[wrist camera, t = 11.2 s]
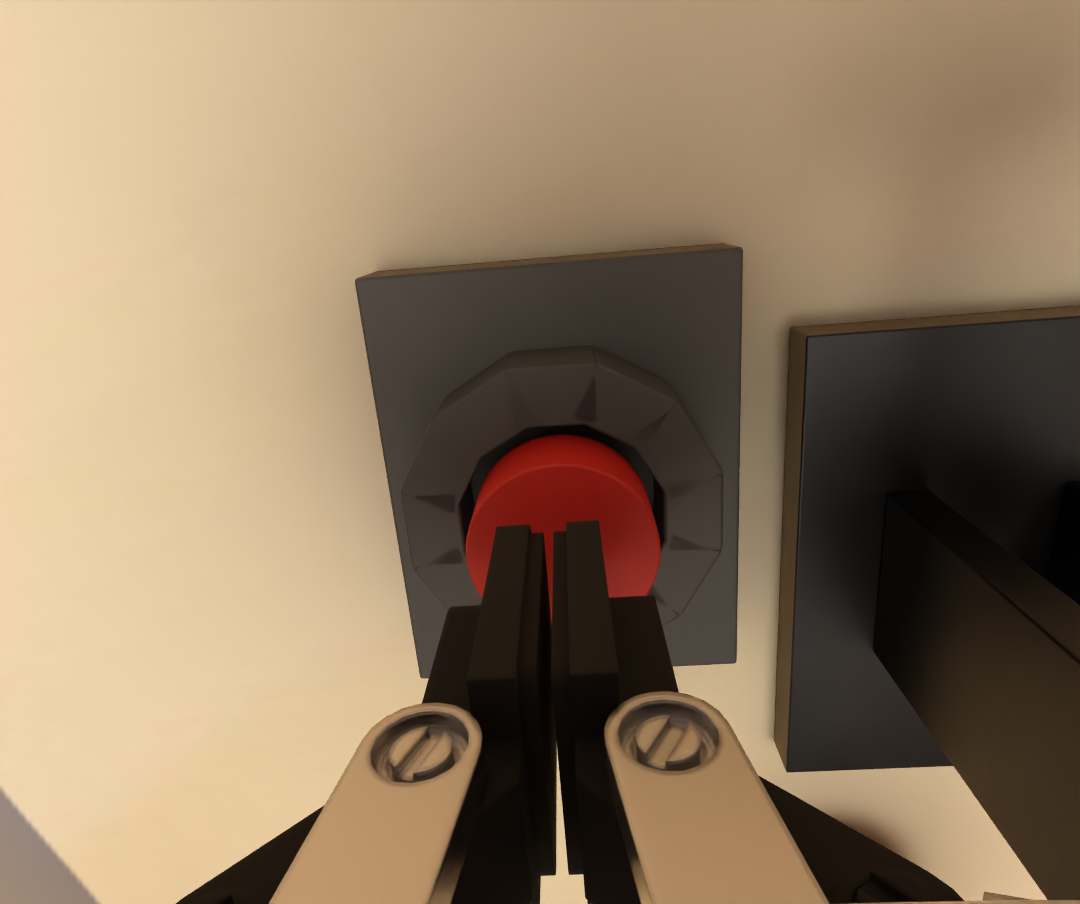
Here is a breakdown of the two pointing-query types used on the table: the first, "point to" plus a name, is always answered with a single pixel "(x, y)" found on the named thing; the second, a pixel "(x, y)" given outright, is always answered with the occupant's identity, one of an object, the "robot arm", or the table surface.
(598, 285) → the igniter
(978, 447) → the bracket
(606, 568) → the button
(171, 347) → the table surface
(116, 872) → the table surface
